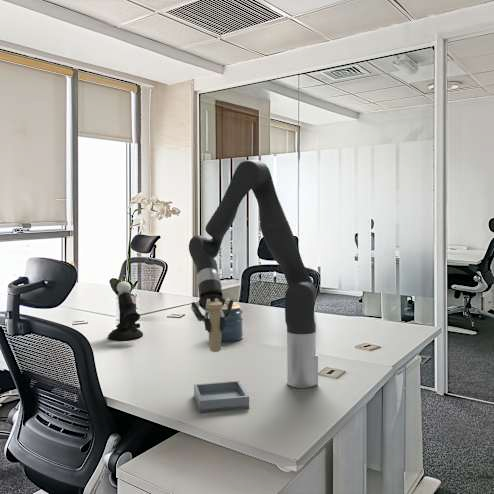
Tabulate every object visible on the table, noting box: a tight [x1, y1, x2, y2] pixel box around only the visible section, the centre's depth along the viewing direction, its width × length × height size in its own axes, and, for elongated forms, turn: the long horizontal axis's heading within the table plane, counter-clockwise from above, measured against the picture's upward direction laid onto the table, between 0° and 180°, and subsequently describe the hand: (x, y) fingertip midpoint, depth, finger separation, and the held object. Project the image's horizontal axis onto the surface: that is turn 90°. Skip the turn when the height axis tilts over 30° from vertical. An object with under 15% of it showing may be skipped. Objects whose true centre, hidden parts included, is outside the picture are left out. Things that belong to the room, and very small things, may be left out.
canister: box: [221, 298, 244, 343], centre depth 223 cm, size 13×13×18 cm
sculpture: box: [107, 280, 144, 342], centre depth 224 cm, size 15×24×25 cm, turn 28°
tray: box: [193, 380, 250, 414], centre depth 149 cm, size 14×14×4 cm
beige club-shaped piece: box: [206, 301, 222, 353], centre depth 157 cm, size 5×6×15 cm
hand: (215, 330), depth 155 cm, fingers closed on beige club-shaped piece, 3 cm apart
